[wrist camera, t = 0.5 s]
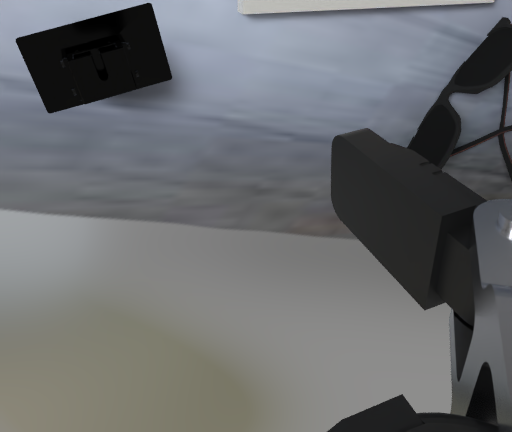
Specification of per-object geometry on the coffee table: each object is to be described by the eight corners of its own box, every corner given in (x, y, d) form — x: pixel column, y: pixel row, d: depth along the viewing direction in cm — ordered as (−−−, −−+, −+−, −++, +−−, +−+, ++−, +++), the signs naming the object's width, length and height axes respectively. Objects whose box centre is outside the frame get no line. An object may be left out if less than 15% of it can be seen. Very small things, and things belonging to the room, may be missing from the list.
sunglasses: (463, 202, 57) (494, 224, 54) (388, 161, 49) (417, 183, 46) (561, 78, 52) (603, 92, 48) (494, 9, 44) (538, 19, 41)
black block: (166, -15, 34) (181, -5, 30) (191, 83, 38) (206, 102, 34) (-16, 30, 31) (-24, 46, 28) (32, 130, 35) (31, 155, 32)
